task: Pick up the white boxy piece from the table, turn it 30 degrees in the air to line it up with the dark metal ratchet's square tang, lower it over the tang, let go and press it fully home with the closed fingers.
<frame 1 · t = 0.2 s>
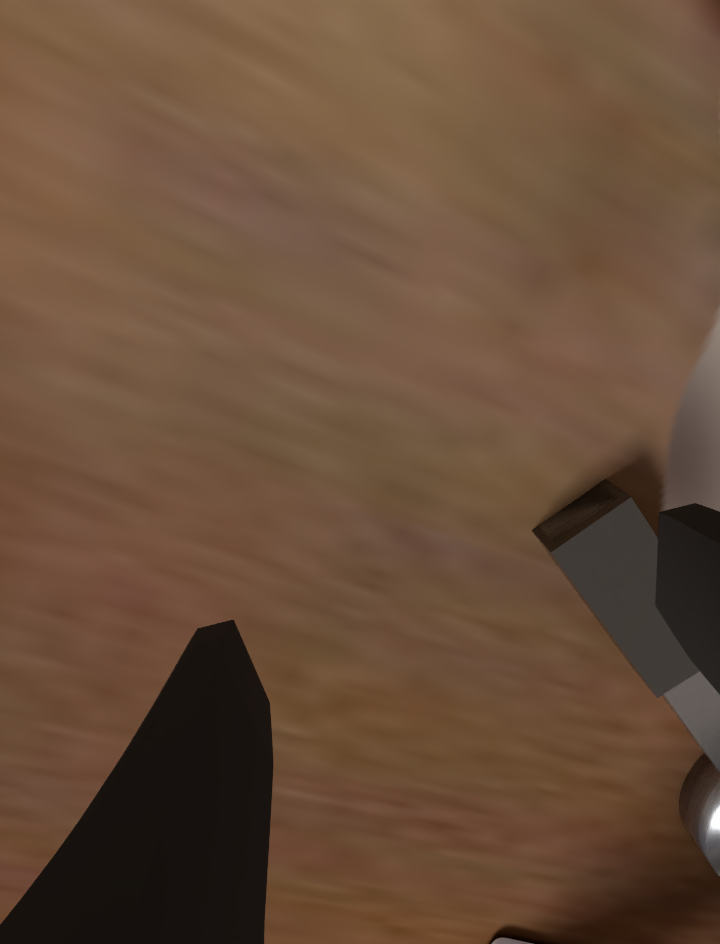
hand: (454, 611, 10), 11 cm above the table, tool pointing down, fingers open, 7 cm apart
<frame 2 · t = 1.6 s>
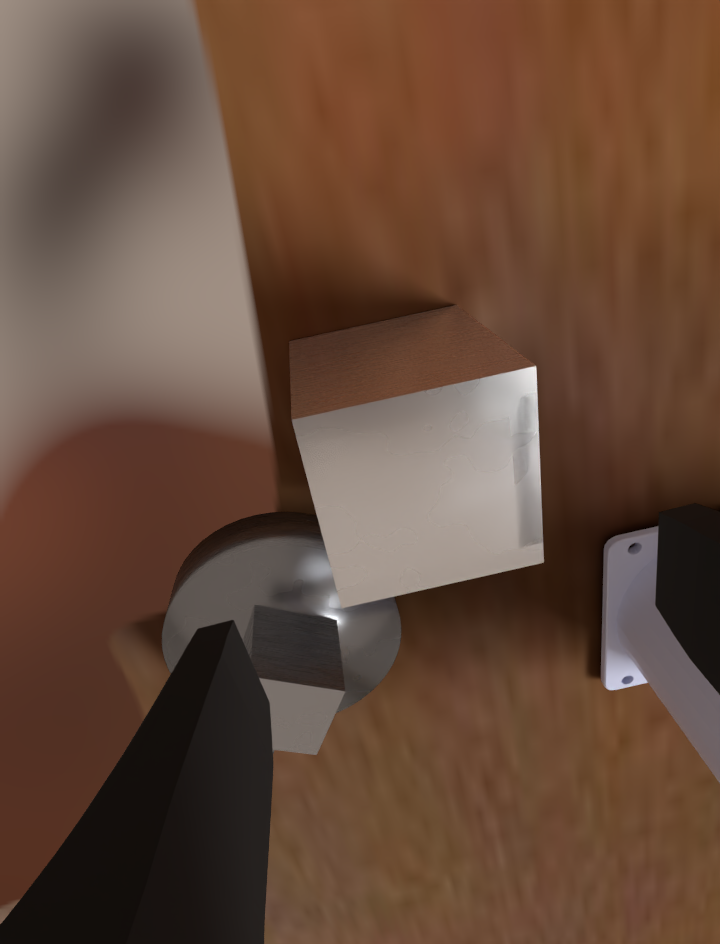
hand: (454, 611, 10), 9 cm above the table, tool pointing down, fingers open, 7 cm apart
white boxy piece: (386, 401, 18), on the table
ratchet: (284, 604, 21), on the table
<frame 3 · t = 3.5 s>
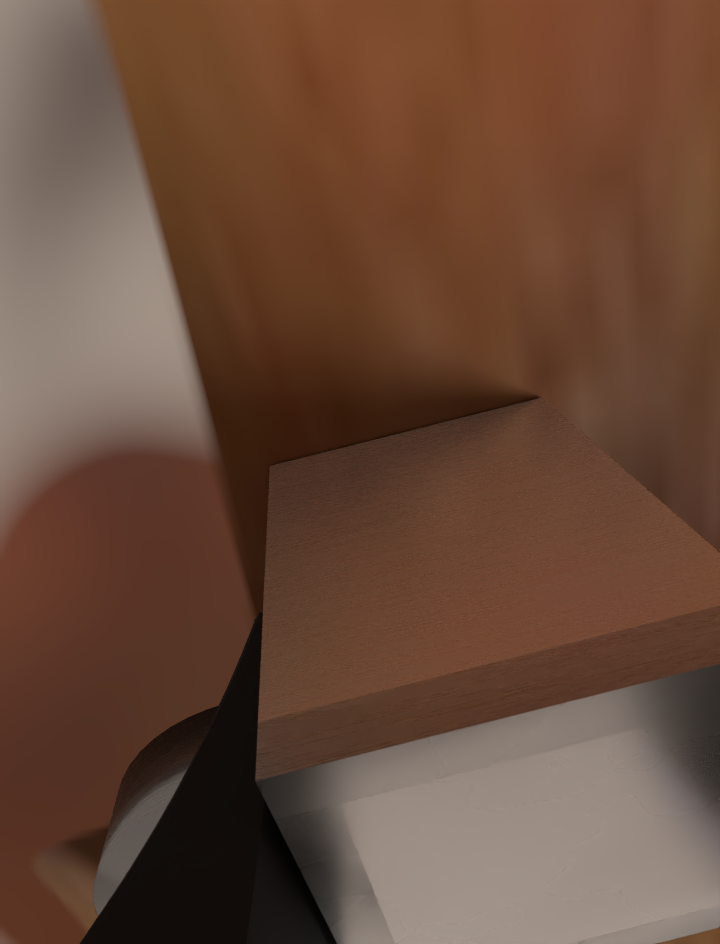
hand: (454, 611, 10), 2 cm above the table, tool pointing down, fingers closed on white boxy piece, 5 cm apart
white boxy piece: (427, 543, 11), on the table, touching gripper
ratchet: (280, 804, 15), on the table
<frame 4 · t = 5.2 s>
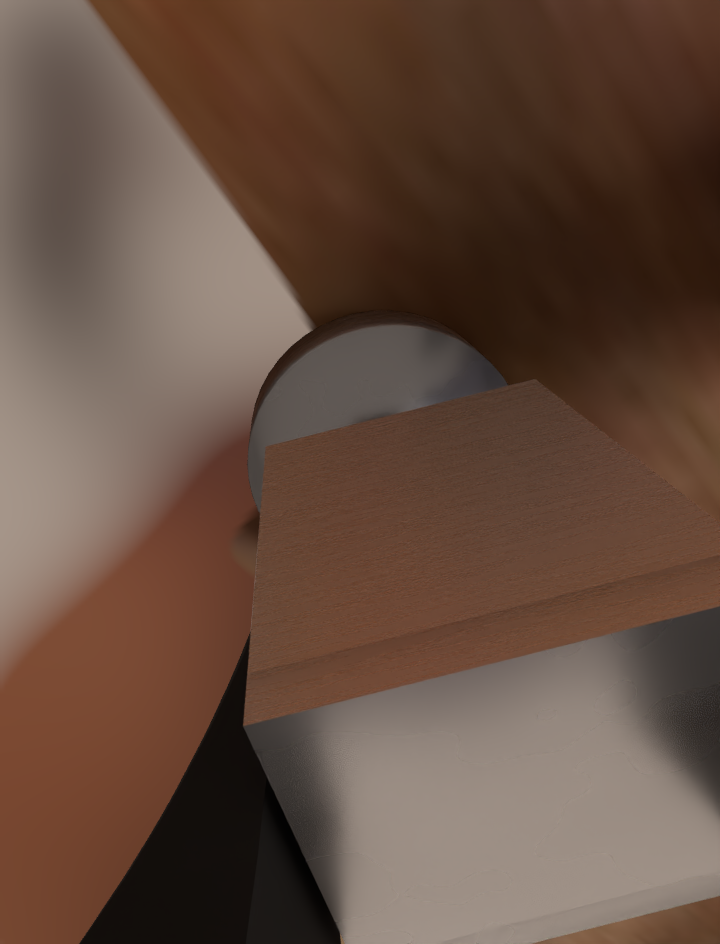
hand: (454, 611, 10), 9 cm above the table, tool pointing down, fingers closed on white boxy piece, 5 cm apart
white boxy piece: (423, 526, 11), point 7 cm above the table, touching gripper
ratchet: (378, 437, 18), on the table
when the fingers open (5 cm above the table, at t = 7.0 s): white boxy piece stays where it is, resting on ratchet.
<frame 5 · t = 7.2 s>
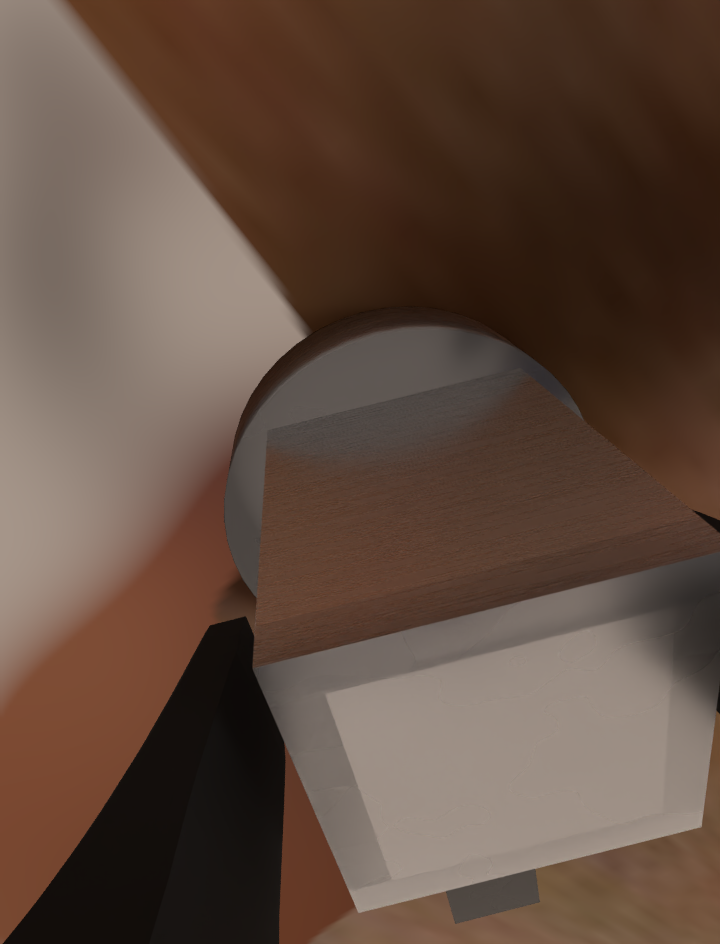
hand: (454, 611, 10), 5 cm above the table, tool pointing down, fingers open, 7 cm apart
white boxy piece: (415, 506, 12), point 2 cm above the table, touching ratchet
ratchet: (398, 472, 14), on the table, touching white boxy piece
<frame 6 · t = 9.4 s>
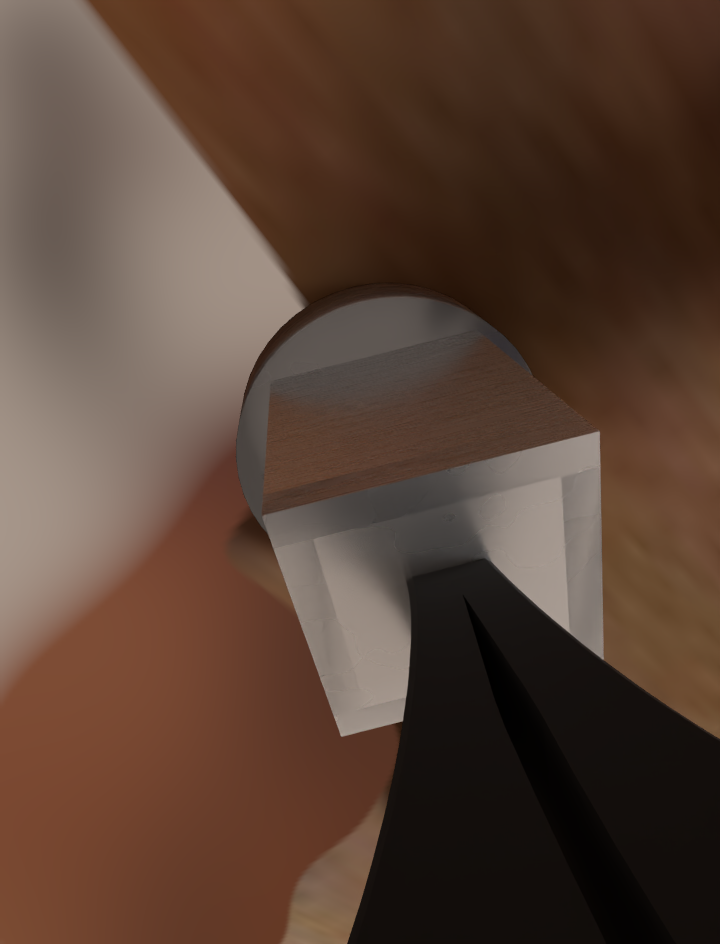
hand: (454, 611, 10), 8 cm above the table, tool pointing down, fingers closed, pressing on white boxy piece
white boxy piece: (393, 448, 15), point 2 cm above the table, touching gripper, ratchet
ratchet: (382, 426, 17), on the table, touching white boxy piece
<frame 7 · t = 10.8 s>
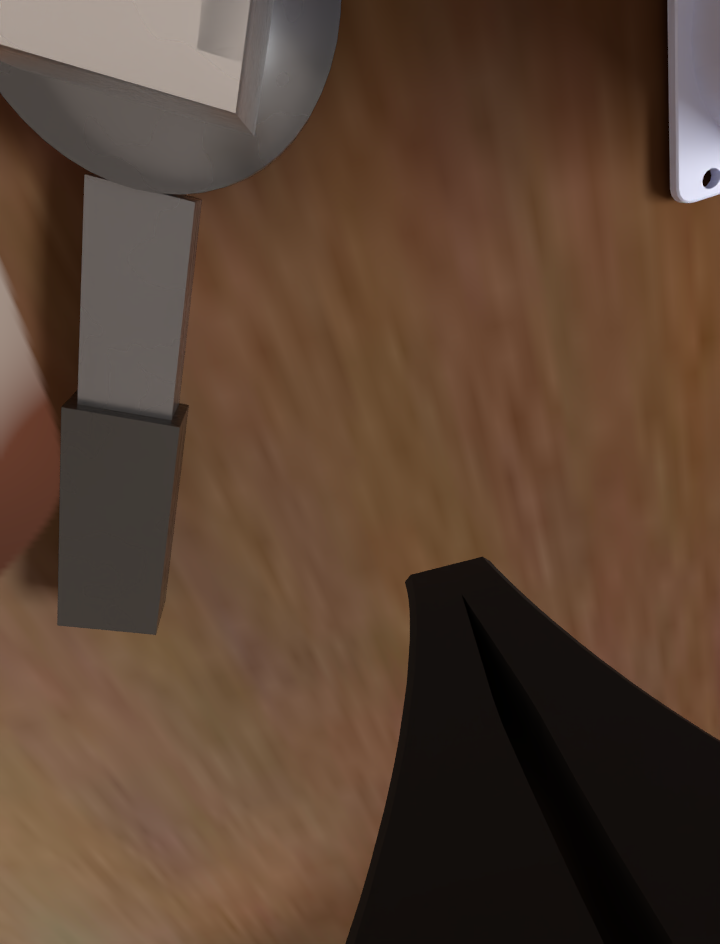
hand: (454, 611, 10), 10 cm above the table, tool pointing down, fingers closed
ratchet: (166, 4, 14), on the table, touching white boxy piece
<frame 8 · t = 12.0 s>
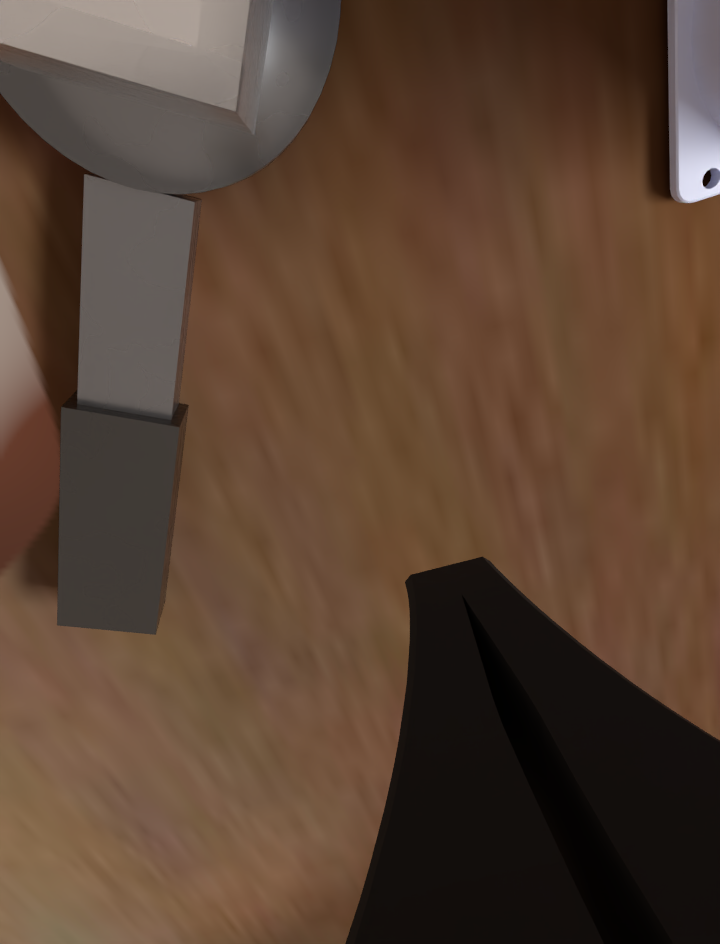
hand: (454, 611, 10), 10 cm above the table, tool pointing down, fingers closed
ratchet: (166, 4, 14), on the table, touching white boxy piece
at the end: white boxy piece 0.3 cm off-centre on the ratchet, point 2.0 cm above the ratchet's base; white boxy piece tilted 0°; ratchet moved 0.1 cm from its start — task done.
